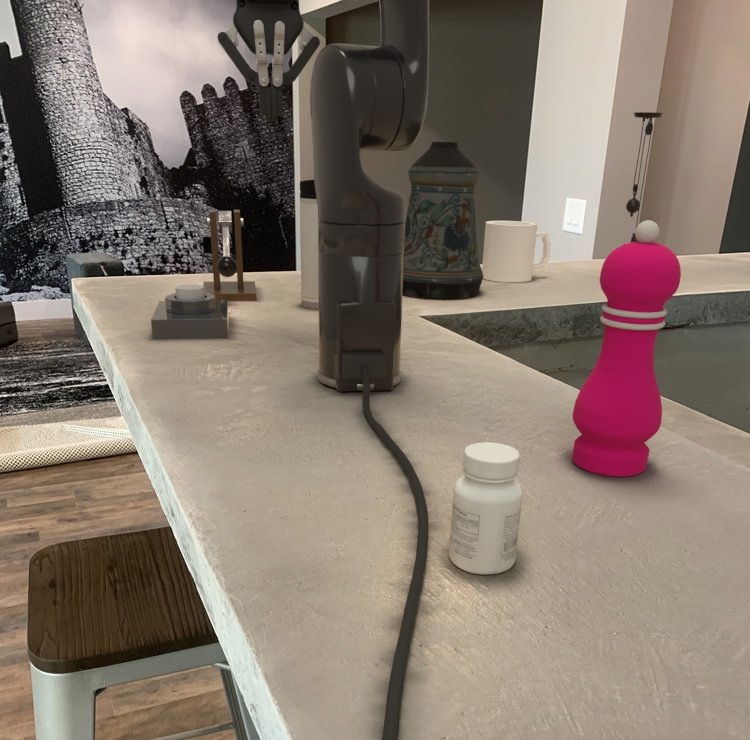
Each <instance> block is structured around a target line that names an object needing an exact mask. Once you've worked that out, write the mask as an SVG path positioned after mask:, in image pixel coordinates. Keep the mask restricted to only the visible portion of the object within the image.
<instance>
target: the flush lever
mask: <svg viewBox="0 0 750 740" xmlns="http://www.w3.org/2000/svg"><path fill="white" fill-rule="evenodd" d="M217 216H218V219H217V220H218V221H217V222H218V233H219V234H221V235H222V257H219V261H218V263H217V270H218V272H219V273H220V276H222V277H225V278H231V277H233V276H234V275H236V274H237V262H236V260H235V259H234V258H233V257H231V244H230V242H231V240H230V234H233V232H234V231H233V215H232V210H217Z"/></svg>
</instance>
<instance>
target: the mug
mask: <svg viewBox="0 0 750 740" xmlns="http://www.w3.org/2000/svg"><path fill="white" fill-rule="evenodd" d="M537 238H541V240H542V241H541V242H542V244H543V245H542V256H541V258H540V261H539V263H534V258H535V251H536V250H535V249H536V242H537V241H536V240H537ZM551 245H552V244H551V241H550V239H549V234H548V233H547V232H543V231H540V232H539V231H538V223H536V222H531V221H521V220H487V221H485V226H484V239H483V252H482V264H481V269H482V272H483V279H484V280H486V281H491V282H500V283H526V282H530V281H532V279H533V270H545V269H546V267H547V265H548V262H549V260H550V257H551ZM483 279H482V280H483Z"/></svg>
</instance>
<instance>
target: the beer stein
mask: <svg viewBox="0 0 750 740" xmlns="http://www.w3.org/2000/svg"><path fill="white" fill-rule="evenodd" d="M407 174H408V181H409V182H410V195H409V200H408V206H407V210H406V218H405V245H404V268H403V295H402V296H405V297H406V296H407V297H410V298H418V299H427V300H429V299H430V300H464V299H465V300H466V299H470V298H473V297H477V296H478V295H479V293H480V288H481V285H482V282H483V272H482V266H481V264H480V259H479V258H480V257H479V251H478V241H477V240H478V239H477V223H476V203H475V188H476V187H475V186H476V184H477V183H478V181H479V178H480V171H479V169H478V168H477V166H476V165H475V164H474V163H473V162H472V161H471V160H470V159H469V158H468V157H467V156H466V155H465V154H464V153H463V152H462V151H461V150H460V149H459V145H458V142H457V141H431V144H430V146H429V148H428V149H427V150H426V151H425V152H424V153H423V154H422V155H421V156H420V157H419V158H418V159H416V161H415V162H414V163H413V164H412V165H411V166H410V168H409V169H408V171H407Z"/></svg>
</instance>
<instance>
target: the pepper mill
mask: <svg viewBox="0 0 750 740" xmlns="http://www.w3.org/2000/svg"><path fill="white" fill-rule="evenodd" d="M634 233H635V237H636V240H637V242H631V241H630V242H627V243H624V244H621V245H620V246H617V247H616V248H615V249H613V250H612V251H611V252H610V253H609V254H608V255H607V257H606V258H605V259H604V261H603V262H602V263H603V264H602V267H601V270H600V274H599V284H600V289H601V291H602V292H603V294H604V296H605V298H606V301H607V302H605V303H603V304H602V305H601V310H602V311H601V312H602V313H601V316H600V317H599V321H600V323H602V324H603V325H604V329H603V340H602V345H601V348H600V353H599V356H598V358H597V361H596V363H595V366H594V367H593V369H592V371H591V373H590V374H589V375H588V377H587V379H586V380H585V382H584V383H583V385H582V387H581V388H580V390H579V392H578V394H577V395H576V396H577V397H576V399H575V401H574V405H573V409H572V421H573V424H574V425H575V428H576V430H578V431H579V433H580V435H578V437H576V438H575V439H574V444H573V450H572V455H571V457H572V461H573V463H574V464H575V465H576V466H577V467H579V468H580V469H582V470H584V471H587V472H590V473H593V474H594V475H595V474H596V475H600V476H604V477H613V478H625V477H634V476H638V475H640V474H643V472H644V471H645V470H647V467H648V461H649V455H650V448H649V446H648V445H647V444H646V443H647V442H648V440H651V438H653V437H654V436H655V435H656V434H657V432H658V431H659V430H660V428H661V425H662V416H663V406H662V405H663V404H662V397H661V394H660V391H659V390H660V389H659V385H658V383H657V379H656V373H655V363H654V362H655V361H654V355H655V345H656V340H657V336H658V333H659V330H661V329H662V328H664V327H665V326H666V321H665V320H666V317H665V316H667V314H668V310H667V308H665V307H664V306H665V304H666V303H667V302H668V300H669V299H671V298H672V297H673V296H674V295H675V294H676V292H677V291H678V289H679V286H680V283H681V278H682V277H681V276H682V273H681V272H682V271H681V264H680V261H679V258H678V256H677V255H676V254H675V253H674V252H673V251H672V249H670V248H669V247H667V246H665V245H663V244H661V243H657V242H656V241H657V239H658V238H659V235H660V227H659V225H658V224H657V222H655V221H653V220H649V219H646V220H644V221H641V222H640V223H639V224H637V228H636V227H635V231H634Z"/></svg>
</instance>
